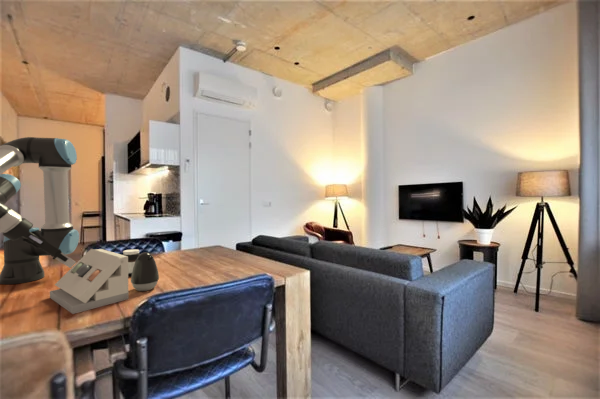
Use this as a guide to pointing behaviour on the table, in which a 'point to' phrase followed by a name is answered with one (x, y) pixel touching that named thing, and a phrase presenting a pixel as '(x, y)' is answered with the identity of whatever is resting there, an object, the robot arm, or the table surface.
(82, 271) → the charcoal button
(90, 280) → the terracotta button
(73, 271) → the sage button
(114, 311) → the table surface
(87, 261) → the button console
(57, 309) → the table surface
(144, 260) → the dark grey egg figure
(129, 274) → the spread jar
